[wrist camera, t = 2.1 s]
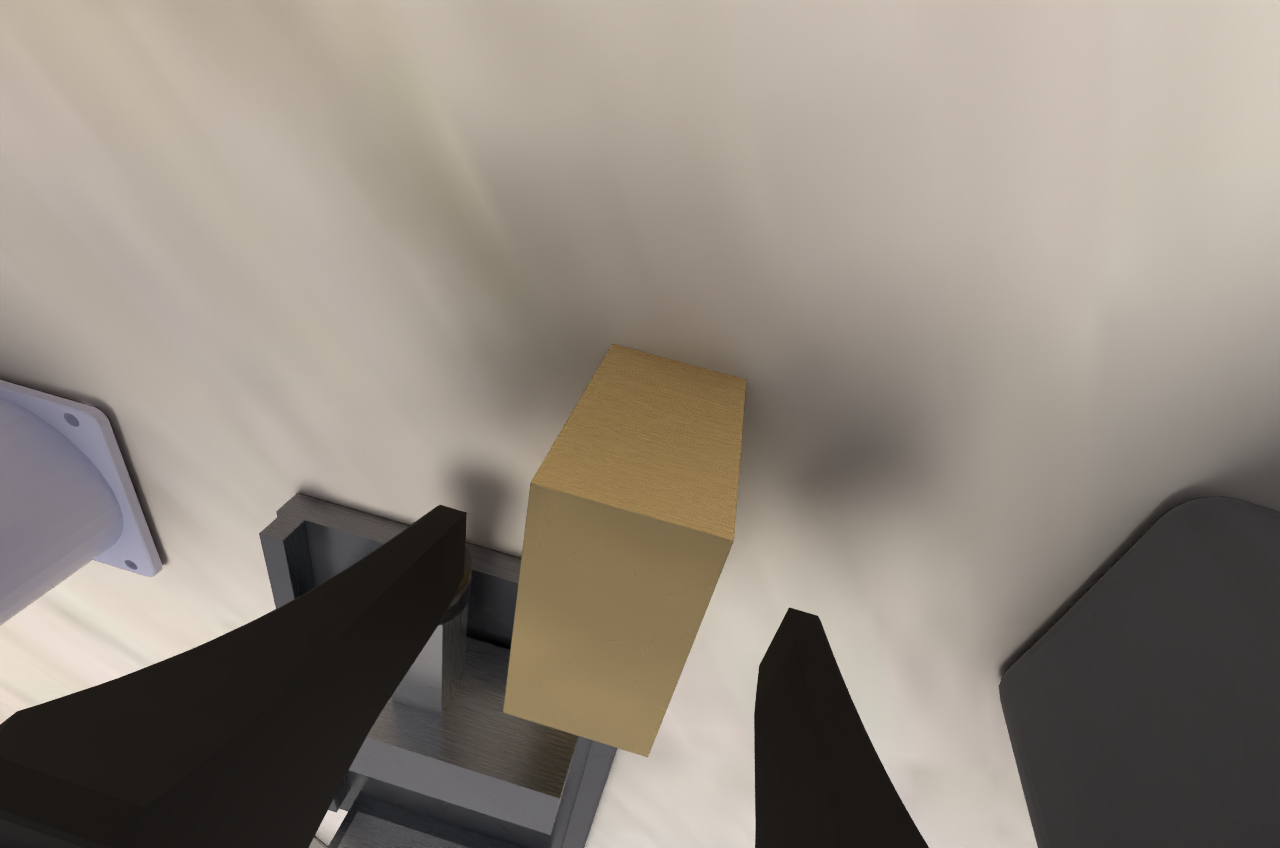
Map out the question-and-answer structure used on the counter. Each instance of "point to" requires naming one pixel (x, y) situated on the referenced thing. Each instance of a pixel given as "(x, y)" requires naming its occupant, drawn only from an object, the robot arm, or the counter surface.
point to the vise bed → (339, 537)
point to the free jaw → (467, 731)
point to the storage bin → (1160, 693)
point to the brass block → (624, 547)
